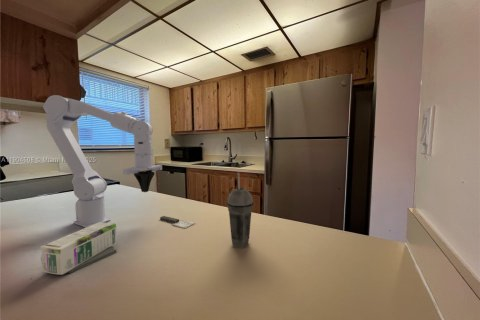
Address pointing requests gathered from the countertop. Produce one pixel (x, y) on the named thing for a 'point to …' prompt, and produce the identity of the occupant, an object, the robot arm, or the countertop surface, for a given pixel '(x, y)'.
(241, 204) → the beverage cup
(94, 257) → the mat
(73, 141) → the robot arm
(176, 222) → the spatula
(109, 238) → the syrup box
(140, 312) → the countertop surface
